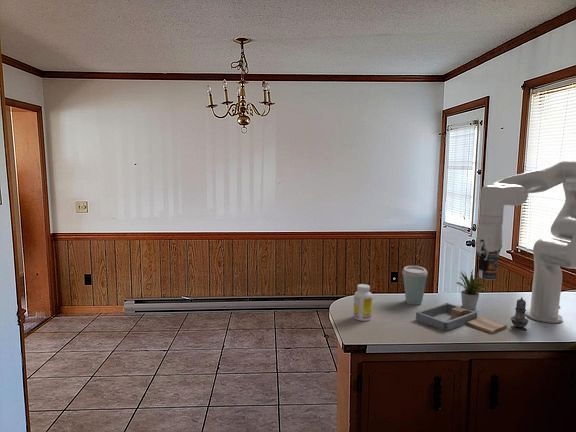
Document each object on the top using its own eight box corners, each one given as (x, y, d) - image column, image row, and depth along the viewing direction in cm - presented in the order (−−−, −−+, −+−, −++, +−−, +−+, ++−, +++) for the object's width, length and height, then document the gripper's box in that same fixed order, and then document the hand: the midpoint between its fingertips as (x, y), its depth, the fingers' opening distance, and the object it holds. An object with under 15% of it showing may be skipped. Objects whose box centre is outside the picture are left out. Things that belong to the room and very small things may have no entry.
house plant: (447, 309, 175) (450, 271, 172) (447, 299, 187) (450, 263, 185) (485, 315, 170) (489, 275, 167) (483, 304, 182) (486, 267, 180)
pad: (480, 319, 165) (480, 316, 165) (506, 327, 157) (506, 325, 157) (466, 324, 159) (466, 322, 159) (492, 333, 151) (492, 331, 151)
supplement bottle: (373, 317, 165) (374, 284, 163) (368, 322, 159) (370, 289, 157) (356, 314, 168) (357, 282, 166) (351, 319, 162) (352, 286, 160)
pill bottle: (480, 279, 154) (482, 249, 152) (477, 275, 160) (478, 245, 158) (498, 280, 153) (500, 249, 151) (494, 275, 158) (496, 246, 157)
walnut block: (456, 316, 168) (457, 306, 167) (466, 319, 164) (466, 309, 164) (450, 318, 165) (451, 308, 165) (460, 321, 162) (461, 311, 162)
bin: (446, 309, 175) (446, 302, 174) (476, 319, 164) (477, 312, 164) (415, 319, 163) (416, 312, 162) (445, 331, 152) (446, 323, 152)
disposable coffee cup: (429, 306, 178) (431, 271, 176) (403, 306, 178) (405, 271, 176) (421, 298, 188) (424, 265, 186) (397, 298, 188) (399, 264, 186)
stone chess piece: (527, 333, 152) (530, 300, 151) (509, 329, 155) (512, 297, 154) (528, 327, 157) (531, 296, 156) (510, 324, 160) (513, 293, 159)
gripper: (494, 216, 161) (491, 263, 164) (467, 220, 151) (465, 270, 154) (514, 218, 155) (510, 267, 158) (488, 223, 145) (484, 275, 148)
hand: (488, 268), depth 156 cm, fingers closed on pill bottle, 6 cm apart
